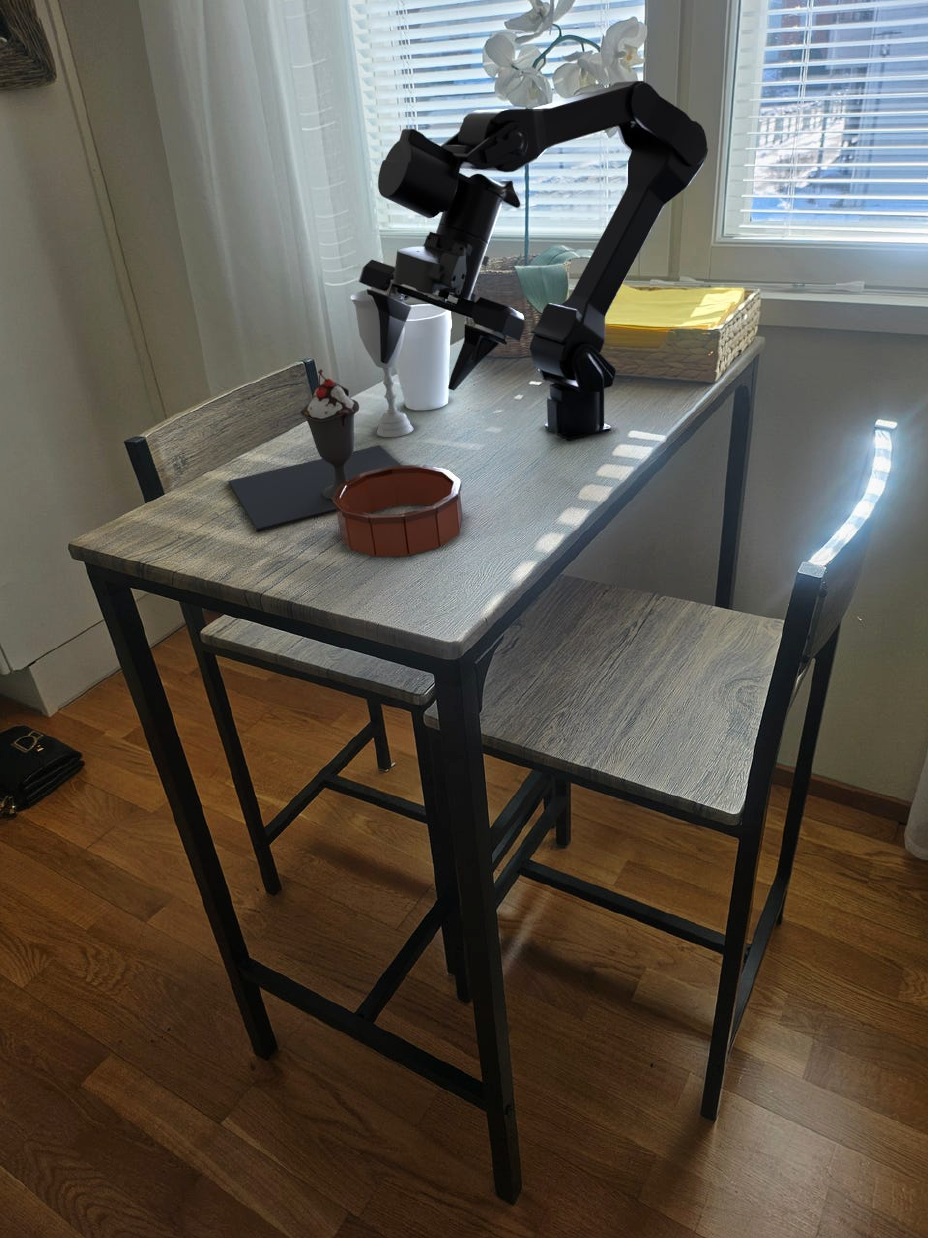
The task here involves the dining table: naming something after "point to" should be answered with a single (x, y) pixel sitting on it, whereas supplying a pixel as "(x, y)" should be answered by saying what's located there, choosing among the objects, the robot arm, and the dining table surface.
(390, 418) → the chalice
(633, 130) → the robot arm
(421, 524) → the serving tub
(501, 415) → the dining table surface
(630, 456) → the dining table surface
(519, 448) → the dining table surface
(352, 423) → the sundae
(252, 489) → the placemat
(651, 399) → the dining table surface
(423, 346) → the foam cup
